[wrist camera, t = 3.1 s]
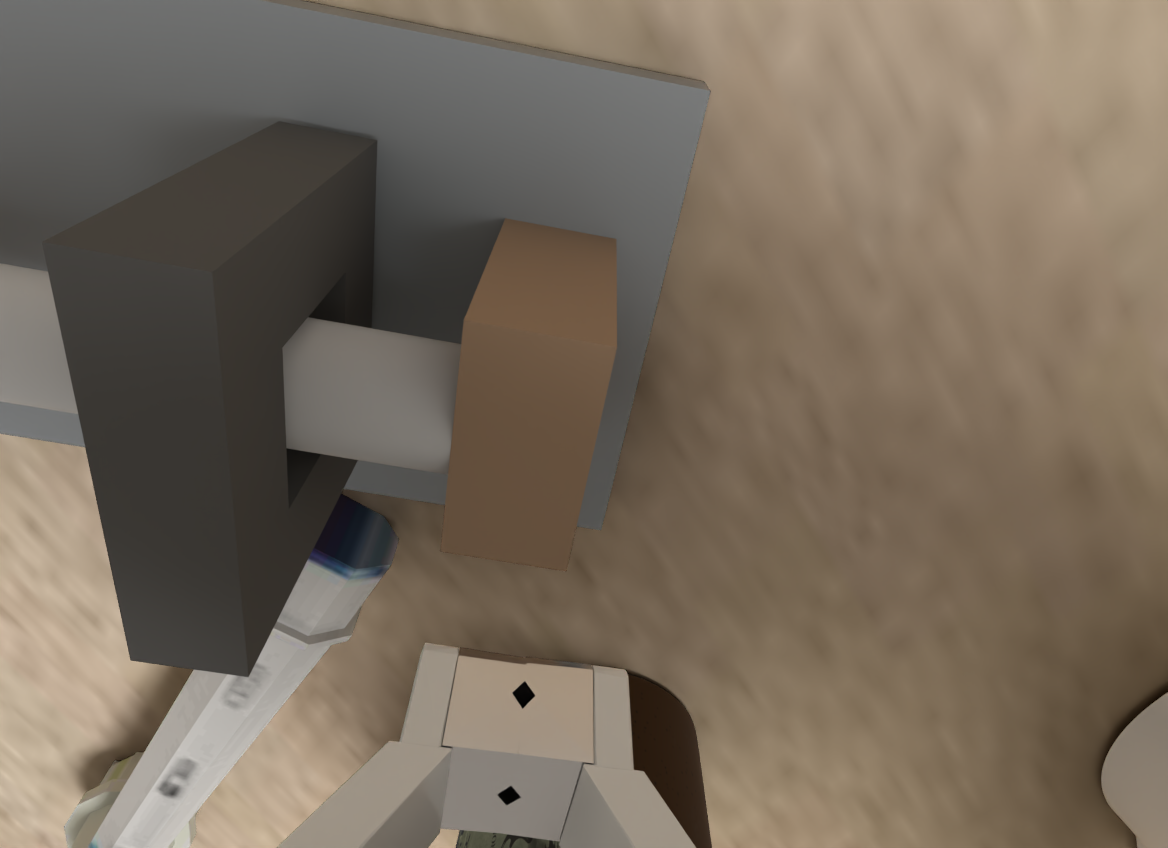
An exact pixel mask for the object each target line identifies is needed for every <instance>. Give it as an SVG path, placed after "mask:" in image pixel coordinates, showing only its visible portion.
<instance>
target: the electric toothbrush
mask: <svg viewBox="0 0 1168 848" xmlns="http://www.w3.org/2000/svg"><path fill="white" fill-rule="evenodd" d="M398 541H399V538H398V537H397V535H396V534H395V532H394V531H393V529H392V528H391V526H390V525H389V523H388V522H387V520H386V519H385V517H384V516H382V515H380V514H378V513H376V512H375V511H373V510H371V509H369V508H367V507H365V506H363V505H362V504H360V503H358V502H356V501H354V500H352V499H350V498H349V497H347V496H345V495H343V494H341V495H340V497H339V499H338V501H337V503H336V505H335V507H334V509H333V511H332V513H331V515H330V517H329V519H328V521H327V523H326V525H325V527H324V529H323V531H322V533H321V535H320V537H319V538H318V540H317V542H316V544H315V546H314V548H313V550H312V552H311V554H310V556H309V558H308V560H307V562H306V564H305V566H304V568H303V570H302V572H301V574H300V576H299V578H298V580H297V582H296V584H295V586H294V588H293V590H292V592H291V594H290V596H289V598H288V600H287V602H286V604H285V606H284V608H283V610H282V612H281V614H280V616H279V618H278V620H277V622H276V624H275V626H274V628H273V630H272V632H271V634H270V636H269V638H268V640H267V642H266V644H265V646H264V648H263V650H262V652H261V654H260V656H259V658H258V660H257V662H256V664H255V666H254V668H253V670H252V671H251V673H250V675H249V677H243V676H236V675H229V674H222V673H215V672H208V671H201V670H193V671H192V673H191V675H190V676H189V678H188V680H187V681H186V683H185V685H184V686H183V688H182V690H181V692H180V693H179V695H178V697H177V698H176V700H175V702H174V703H173V705H172V707H171V708H170V710H169V712H168V713H167V715H166V717H165V718H164V720H163V722H162V723H161V725H160V727H159V728H158V730H157V732H156V733H155V735H154V737H153V738H152V740H151V742H150V743H149V745H148V747H147V748H146V750H145V752H136V753H135V755H133V756H131V757H129V758H127V759H125V760H122V761H120V762H119V761H117V760H115V761H114V762H113V764H112V766H111V767H110V769H109V770H108V772H107V773H106V775H105V777H104V778H103V780H102V781H101V783H100V785H99V786H98V787H95V788H93V789H91V790H89V791H87V792H86V793H85V794H84V796H83V797H82V799H81V801H80V802H79V804H78V805H77V807H76V808H75V810H74V812H73V813H72V815H71V816H70V818H69V820H68V821H67V823H66V824H65V826H64V829H65V835H66V841H67V847H68V848H190V846H191V844H192V842H193V840H194V837H195V835H196V818H195V816H196V814H197V812H198V810H199V808H200V807H201V806H202V804H203V803H204V802H205V801H206V799H207V798H208V797H209V796H210V795H211V793H212V792H213V791H214V790H215V788H216V787H217V786H218V785H219V783H220V782H221V781H222V780H223V778H224V777H225V776H226V775H227V774H228V772H229V771H230V770H231V769H232V767H233V766H234V765H235V764H236V762H237V761H238V760H239V759H240V757H241V756H242V755H243V754H244V752H245V751H246V750H247V749H248V748H249V746H250V745H251V744H252V743H253V741H254V740H255V739H256V738H257V736H258V735H259V734H260V733H261V731H262V730H263V729H264V728H265V727H266V725H267V724H268V723H269V722H270V720H271V719H272V718H273V717H274V715H275V714H276V713H277V712H278V710H279V709H280V708H281V707H282V706H283V704H284V703H285V702H286V701H287V699H288V698H289V697H290V696H291V694H292V693H293V692H294V691H295V689H296V688H297V687H298V686H299V685H300V683H301V682H302V681H303V680H304V678H305V677H306V676H307V675H308V673H309V672H310V671H311V670H312V668H313V667H314V666H315V665H316V664H317V662H318V661H319V660H320V659H321V657H322V656H323V655H324V654H325V652H326V651H327V650H328V649H329V647H330V646H331V645H333V644H337V643H342V642H346V641H348V640H349V638H350V637H351V636H352V634H353V631H354V628H355V625H356V622H357V619H358V616H359V613H360V610H361V607H362V604H363V603H364V601H365V600H366V598H367V597H368V596H369V594H370V593H371V592H372V590H373V589H374V588H375V586H376V585H377V583H378V582H379V581H380V579H381V578H382V577H383V575H384V574H385V573H386V571H387V570H388V568H389V567H390V566H391V564H392V561H393V558H394V554H395V551H396V548H397V545H398Z"/></svg>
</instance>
